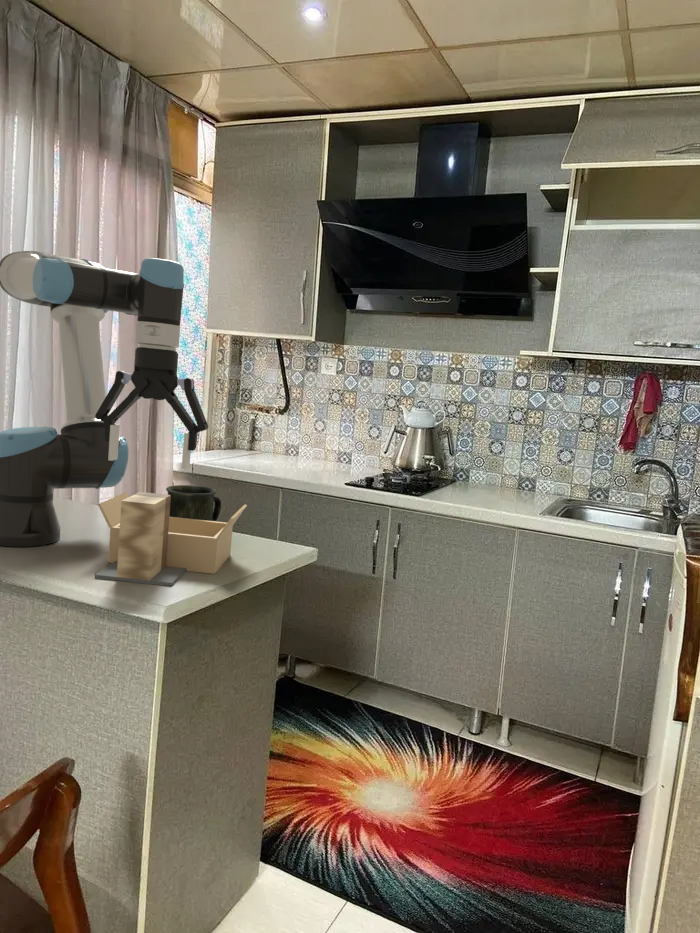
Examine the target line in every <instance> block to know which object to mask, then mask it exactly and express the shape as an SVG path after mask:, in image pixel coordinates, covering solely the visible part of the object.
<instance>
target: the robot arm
mask: <svg viewBox="0 0 700 933" xmlns="http://www.w3.org/2000/svg"><path fill="white" fill-rule="evenodd" d="M184 273H185V269H184V266H183V265H182V264H181V263H180V262H178V261H174V260H170V259H164V258H163V259H162V258H153V257H147V258H144V259H143V260H142V261H141V264H140V270H139V273H136V272H130V271H125V270H119V269H113V268H106V267H104V266H103V265H101V264H100V263H99V262H94V261H90V260H88V259H84V258H81V259H78V258H73V257H68V256H63V255H56V254H52V253H45V252H42V251H35V250H23V251H22V250H21V251H20V250H18V251H14V252H11V253H8V254H6V255H4V257H2V258H0V288H1V290H2V291H3V292H4V293H6V294H7V295H8V296H10V297H12V298H13V299H16V300H17V301H21V302H24V303H27V304H31V305H35V306H41V307H43V306H44V307H48V308H50V316H51V318H52V319H53V321H55V322H56V323H58V326H59V327H58V328H59V340H60V352H61V362H62V363H61V365H62V373H63V374H62V375H63V386H64V388H63V389H64V400H65V408H66V409H65V410H66V413H65V414H66V422H65V423H64V424H63V425H62V427H61V428H60V434H58V432H57V429H56V428H54V427H53V426H51V427H50V426H25V427H24V426H23V427H15V428H9V429H5V430H2V431H0V546H3V547H6V546H7V547H37V546H43V545H44V546H45V545H50V544H52V543H56V542H58V541H60V540H61V526H60V525H61V524H60V522H59V518H58V516H57V512H56V509H55V505H54V492H55V490H56V489H96V490H99V489H101V488H102V489H104V488H112V487H116V486H117V485H118V484H120V483H121V482H122V480H123V478H124V477H125V473H126V470H127V467H128V462H129V445H128V441H127V439H126V438H125V436H122V435H121V434H120V427H121V424H118V423H117V421H118V420H119V419H120V418H121V417H122V416H123V415H125V413H127V411H128V410H130V409H131V407H133V405H135V403H136V402H137V401H138V400H140V399H141V398H143V399H147V400H148V399H153V400H157V401H164V400H165V401H166V402H167V403H168V405H169V406H171V408H172V409H173V411H174V412H175V414H176V415H177V417H178V418H179V420H180V421H181V422H182V424H183V425H184V427H185V428H186V430H187V432H184V433H183V445H182V458H181V459H182V460H181V469H184V470H186V469H190V466H191V464H190V463H191V454H192V453H191V452H193V451H196V449H197V445H198V434H199V433H200V432H203V431H207V430H208V429H209V424H208V421H207V419H206V417H205V414H204V412H203V409H202V407H201V404H200V401H199V398H198V396H197V395H196V391H195V381H194V378H191V377H187V378H179V377H178V363H179V353H178V351H176V349H178V348H180V337H181V335H180V334H181V319H182V307H183V296H184V288H185V282H184V280H185V279H184V277H185V276H184ZM108 312H117V313H122V314H125V315H129V316H131V315H132V316H135V317H136V316H137V319H136V320H137V323H136V339H135V343H136V344H138V345H139V346H137V347H136V348H135V352H134V364H133V365H134V366H133V367H134V369H133V372H132V373H129V372H126V371H125V370H118V371H117V370H116V372H115V377H114V380H113V381H114V382H113V384H112V386H111V387H110V389H109V391H108V392H107V394H106V386H105V376H104V375H105V373H104V366H103V365H104V364H103V355H102V354H103V353H102V345H101V344H102V343H101V331H100V322H101V321H102V320H104V318H105V315H106V314H107V313H108ZM130 381H131V382H132V385H133V386H134V388H133V389H132V390H131V392H129V394H128V395H127V396H126V397H125V398H124V399H123V400H122V401H121V402H120V403H119V404H118V406H116V408H114V410H112V408H113V407H114V405H115V403H116V402H117V400H118V398H119V397H120V395H121V393H122V392H123V390H124V388H125V387H126V386H125V385H128V384H129V382H130ZM178 386H180V389H181V390H182V391H184V394H185V398H186V399H187V402H188V405H189V407H190V408H189V409H190V410H191V413H192V415H193V418H194V420H193V419H192V417H191V416H190V414H189V412H188V411H187V410H186V408H185V407H184V405H183V404H182V403H181V401H180V399H179V396H177V394H176V392H174V391H175V389H177V387H178ZM111 410H112V411H111ZM110 411H111V412H110Z"/></svg>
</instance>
